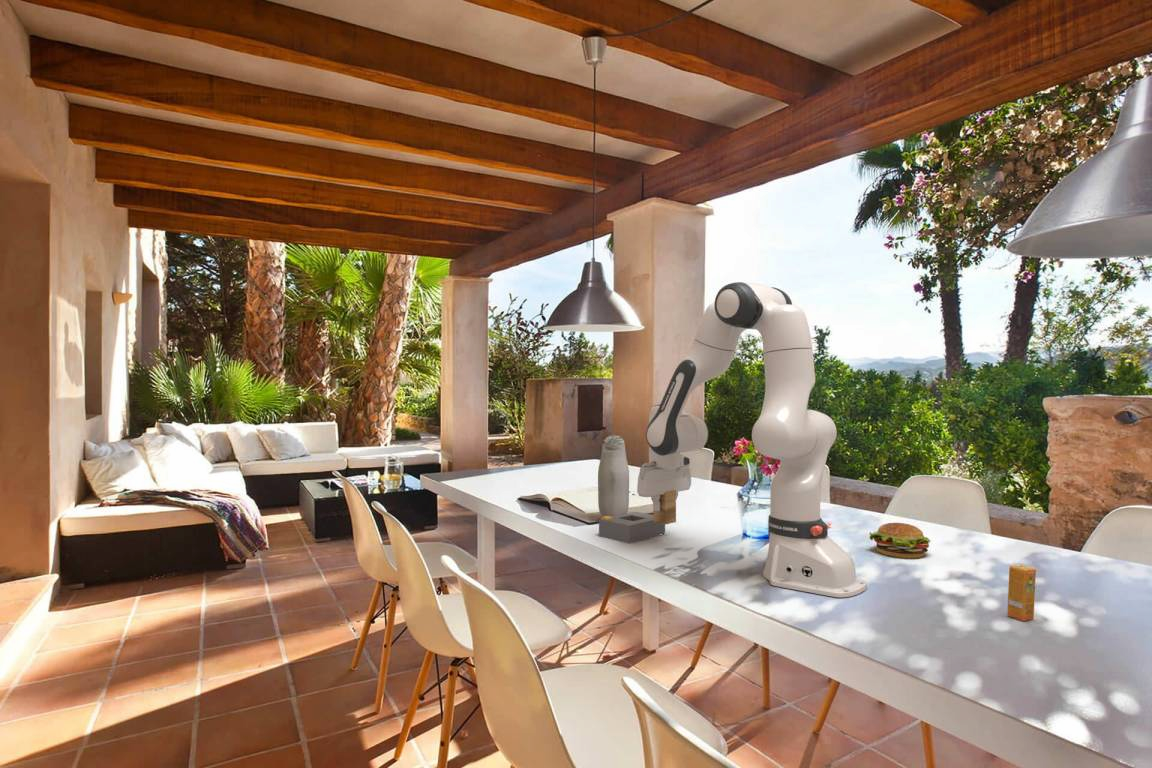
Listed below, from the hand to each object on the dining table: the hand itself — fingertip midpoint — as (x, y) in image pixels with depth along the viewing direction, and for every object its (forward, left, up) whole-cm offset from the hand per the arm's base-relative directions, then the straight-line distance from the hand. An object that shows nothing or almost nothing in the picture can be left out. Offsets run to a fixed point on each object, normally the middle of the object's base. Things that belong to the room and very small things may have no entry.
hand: (664, 509), depth 186 cm
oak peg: (0, 0, -4) cm, 4 cm away
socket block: (+12, 0, -9) cm, 16 cm away
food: (-50, -37, -10) cm, 63 cm away
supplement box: (-85, -4, -10) cm, 85 cm away
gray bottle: (+29, -10, -10) cm, 32 cm away
